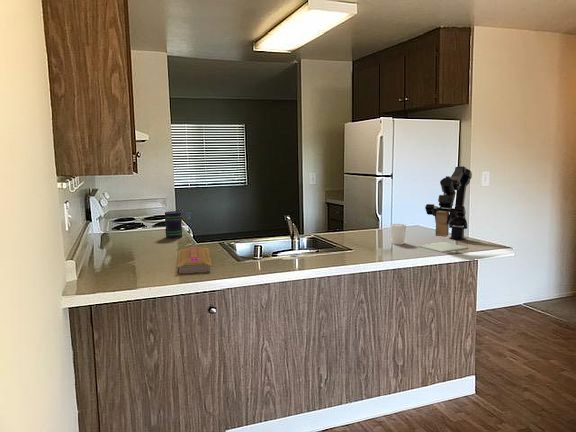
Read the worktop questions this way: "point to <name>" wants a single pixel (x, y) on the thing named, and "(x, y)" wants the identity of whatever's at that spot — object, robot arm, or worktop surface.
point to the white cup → (398, 233)
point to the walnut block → (442, 223)
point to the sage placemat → (442, 247)
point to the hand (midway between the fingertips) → (441, 223)
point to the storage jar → (173, 224)
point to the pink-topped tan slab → (193, 260)
